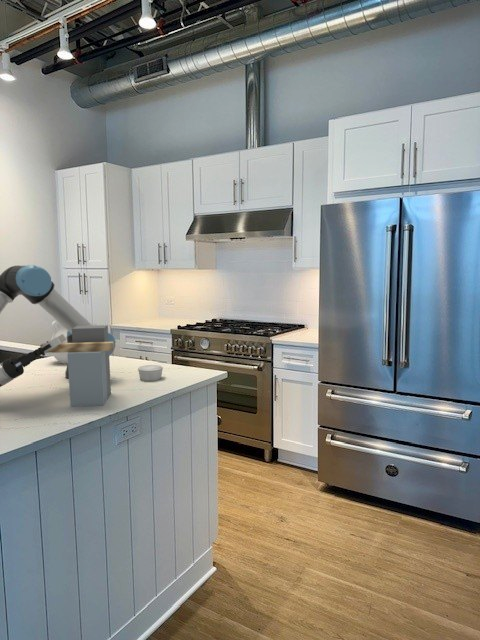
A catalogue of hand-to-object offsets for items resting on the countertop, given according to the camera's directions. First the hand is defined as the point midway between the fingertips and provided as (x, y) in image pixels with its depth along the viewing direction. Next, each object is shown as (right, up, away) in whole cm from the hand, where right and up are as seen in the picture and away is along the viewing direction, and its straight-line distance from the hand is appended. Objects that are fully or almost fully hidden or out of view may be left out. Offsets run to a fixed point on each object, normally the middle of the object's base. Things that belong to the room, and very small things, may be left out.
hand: (61, 338), depth 172 cm
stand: (+9, -24, +8) cm, 27 cm away
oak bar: (+6, -5, +1) cm, 7 cm away
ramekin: (+26, -20, +40) cm, 51 cm away
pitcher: (-26, -16, +78) cm, 84 cm away
